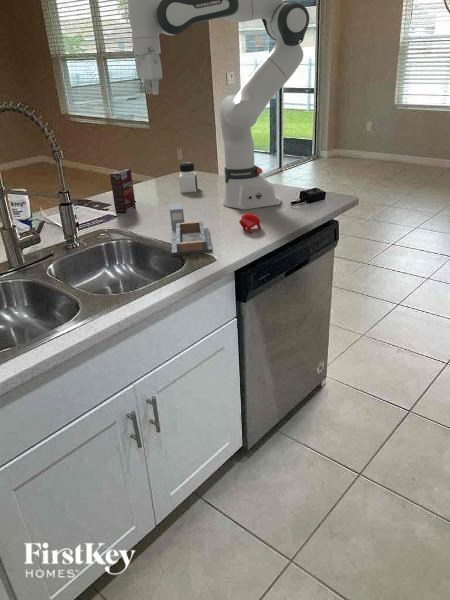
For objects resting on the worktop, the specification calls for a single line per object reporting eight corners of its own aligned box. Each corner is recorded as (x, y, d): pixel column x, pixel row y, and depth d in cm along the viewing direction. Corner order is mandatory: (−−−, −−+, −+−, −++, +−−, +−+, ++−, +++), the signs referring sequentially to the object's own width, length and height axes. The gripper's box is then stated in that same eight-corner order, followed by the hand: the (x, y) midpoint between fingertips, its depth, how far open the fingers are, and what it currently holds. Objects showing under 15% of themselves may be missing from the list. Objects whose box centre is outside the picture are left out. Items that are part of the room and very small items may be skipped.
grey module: (184, 222, 168) (182, 203, 164) (184, 228, 161) (182, 209, 158) (172, 223, 167) (170, 204, 164) (172, 230, 161) (169, 210, 158)
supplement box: (127, 216, 178) (120, 173, 171) (115, 215, 180) (108, 173, 173) (137, 209, 186) (131, 168, 178) (126, 209, 187) (119, 168, 180)
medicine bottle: (196, 192, 205) (194, 164, 199) (180, 193, 205) (177, 165, 200) (197, 188, 211) (195, 160, 206) (181, 189, 211) (179, 161, 206)
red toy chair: (246, 226, 150) (260, 214, 150) (235, 216, 153) (248, 204, 153) (252, 240, 156) (266, 228, 157) (242, 230, 160) (255, 219, 160)
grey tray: (208, 230, 158) (207, 220, 156) (212, 252, 140) (211, 241, 138) (172, 233, 157) (171, 223, 156) (172, 255, 139) (170, 244, 138)
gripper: (164, 46, 146) (169, 94, 153) (149, 49, 164) (154, 92, 170) (144, 47, 145) (150, 96, 151) (131, 50, 162) (137, 93, 168)
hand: (152, 94), depth 161 cm, fingers open, 8 cm apart
